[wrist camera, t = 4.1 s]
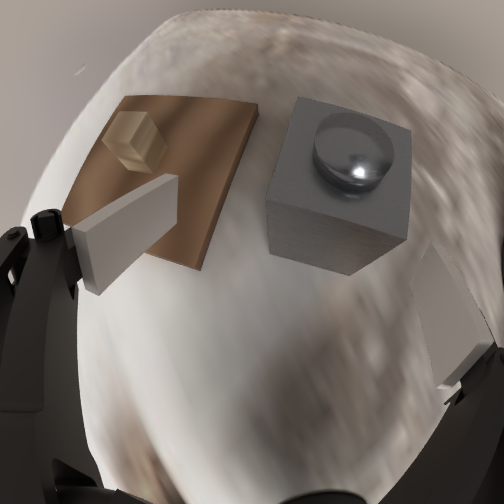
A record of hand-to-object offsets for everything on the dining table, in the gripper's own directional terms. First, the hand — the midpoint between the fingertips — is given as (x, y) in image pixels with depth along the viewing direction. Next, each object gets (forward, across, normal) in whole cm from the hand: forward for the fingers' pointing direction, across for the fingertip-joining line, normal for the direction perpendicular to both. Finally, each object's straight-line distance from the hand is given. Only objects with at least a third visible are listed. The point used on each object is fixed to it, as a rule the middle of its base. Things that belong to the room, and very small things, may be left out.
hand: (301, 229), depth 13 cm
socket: (+8, +2, -3) cm, 9 cm away
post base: (+10, -14, -2) cm, 18 cm away
